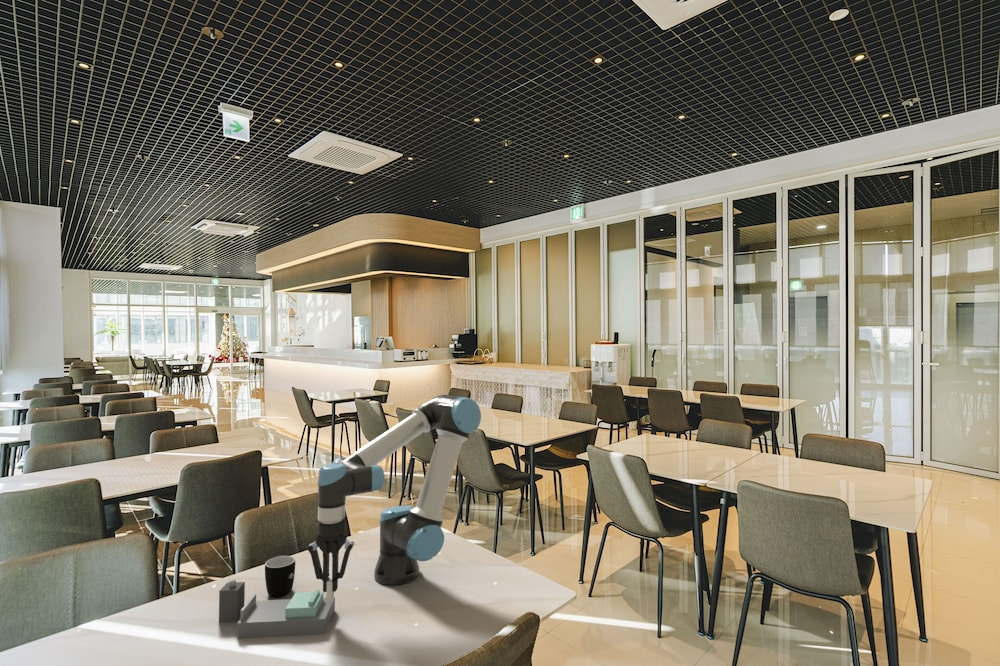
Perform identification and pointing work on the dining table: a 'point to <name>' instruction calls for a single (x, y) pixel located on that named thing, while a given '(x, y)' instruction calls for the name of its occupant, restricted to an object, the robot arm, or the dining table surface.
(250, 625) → the socket
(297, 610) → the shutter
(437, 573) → the dining table surface
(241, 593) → the plug
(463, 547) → the dining table surface
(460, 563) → the dining table surface
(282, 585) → the mug
